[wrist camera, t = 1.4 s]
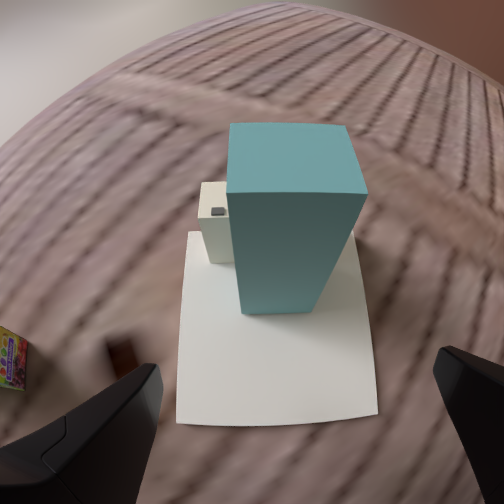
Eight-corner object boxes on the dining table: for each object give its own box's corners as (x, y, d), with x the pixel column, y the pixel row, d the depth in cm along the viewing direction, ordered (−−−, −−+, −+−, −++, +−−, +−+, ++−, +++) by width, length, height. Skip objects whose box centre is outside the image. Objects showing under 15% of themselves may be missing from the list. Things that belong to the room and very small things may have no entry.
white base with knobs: (373, 414, 19) (420, 411, 12) (179, 422, 19) (145, 426, 12) (349, 235, 26) (373, 181, 20) (190, 238, 26) (172, 181, 20)
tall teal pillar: (311, 312, 21) (368, 193, 10) (241, 314, 21) (225, 192, 10) (306, 263, 23) (344, 125, 12) (241, 264, 23) (230, 123, 12)
